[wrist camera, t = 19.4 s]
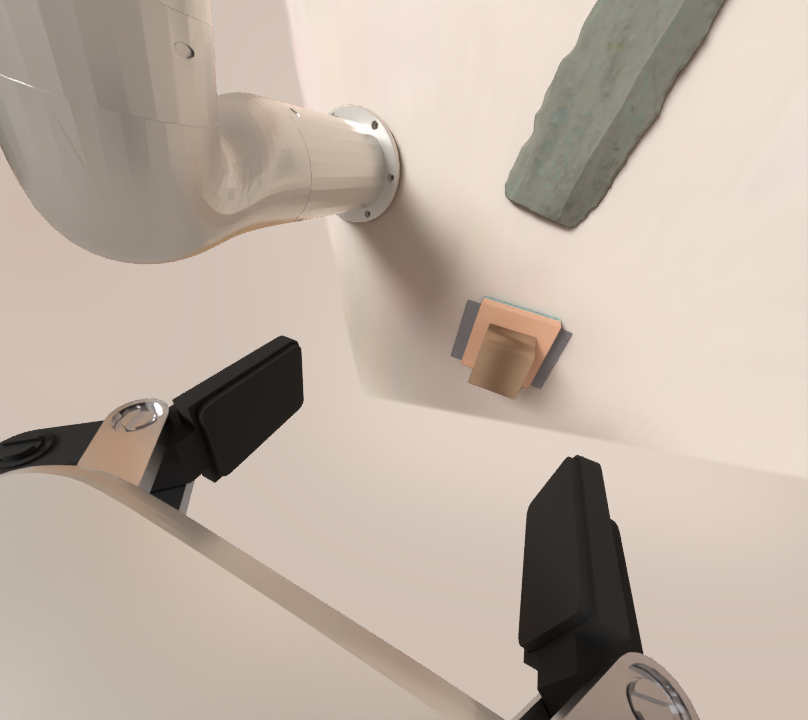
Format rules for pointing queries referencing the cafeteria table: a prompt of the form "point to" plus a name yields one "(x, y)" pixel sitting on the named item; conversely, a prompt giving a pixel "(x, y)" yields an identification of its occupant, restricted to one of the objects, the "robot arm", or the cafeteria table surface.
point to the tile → (516, 321)
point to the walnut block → (503, 361)
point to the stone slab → (604, 102)
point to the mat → (467, 328)
